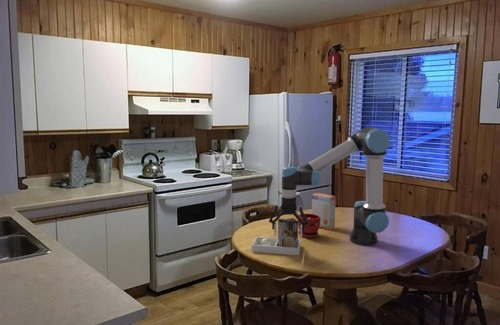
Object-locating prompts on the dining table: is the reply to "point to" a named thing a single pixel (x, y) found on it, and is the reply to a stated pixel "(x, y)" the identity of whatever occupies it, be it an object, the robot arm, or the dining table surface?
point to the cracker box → (324, 209)
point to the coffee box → (288, 233)
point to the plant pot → (310, 225)
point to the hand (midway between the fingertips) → (288, 236)
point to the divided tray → (274, 247)
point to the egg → (265, 242)
